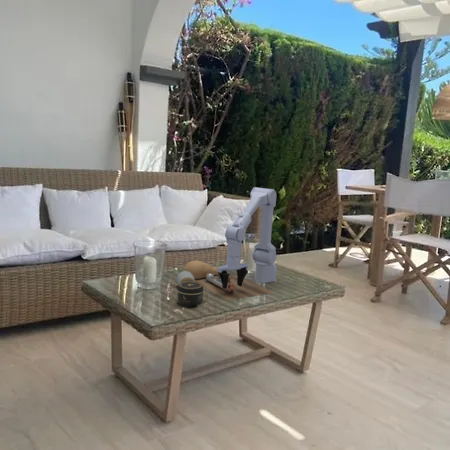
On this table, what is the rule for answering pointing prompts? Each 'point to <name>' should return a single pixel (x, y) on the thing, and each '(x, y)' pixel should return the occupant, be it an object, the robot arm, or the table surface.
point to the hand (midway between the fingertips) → (232, 286)
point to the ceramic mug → (184, 277)
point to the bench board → (236, 289)
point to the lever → (219, 282)
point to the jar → (190, 294)
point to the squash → (200, 269)
